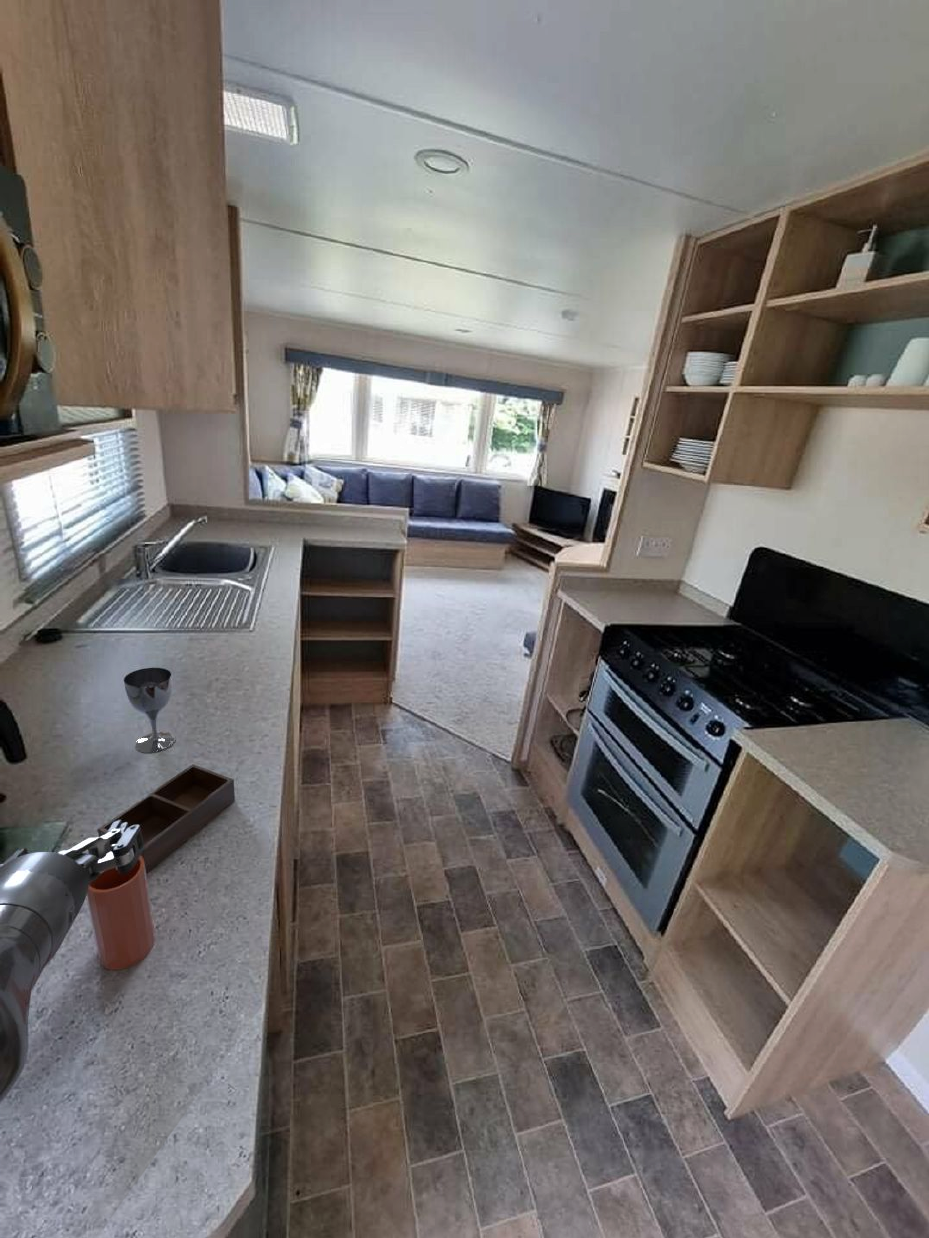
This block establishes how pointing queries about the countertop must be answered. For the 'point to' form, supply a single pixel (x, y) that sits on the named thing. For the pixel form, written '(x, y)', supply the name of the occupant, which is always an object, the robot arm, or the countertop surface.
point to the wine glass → (150, 702)
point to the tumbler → (121, 916)
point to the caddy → (176, 811)
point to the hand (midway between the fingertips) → (73, 843)
